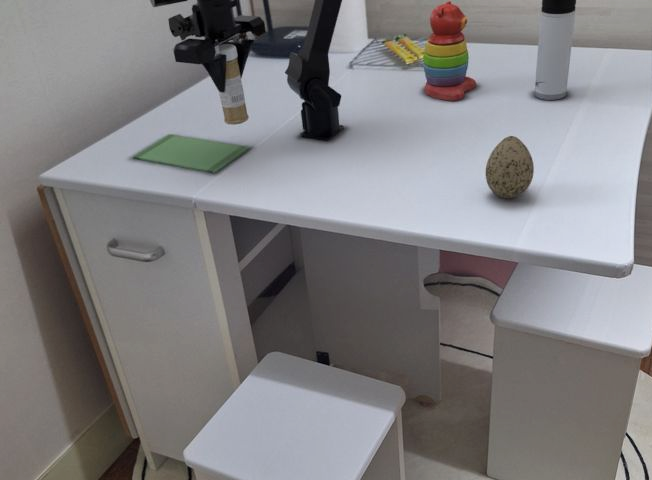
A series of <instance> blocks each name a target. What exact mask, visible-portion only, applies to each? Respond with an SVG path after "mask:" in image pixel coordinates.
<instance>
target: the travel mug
mask: <svg viewBox="0 0 652 480" xmlns="http://www.w3.org/2000/svg"><path fill="white" fill-rule="evenodd" d="M576 5H577V0H541V9H540V18H539V31H538V43H537V53H536V54H537V55H536V57H537V58H536V66H535V68H536V69H535V77H534V78H535V79H534V91H533V95H534V96H535V98H537V99H540V100H544V101H556V100H561V99H563V98H565V97H566V96H567V90H568V81H569V74H570V73H569V72H570V64H571V63H570V62H571V56H572V55H571V53H572V44H573V38H574V37H573V35H574V29H575V28H574V27H575V20H576V19H575V17H576Z"/></svg>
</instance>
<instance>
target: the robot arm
mask: <svg viewBox="0 0 652 480" xmlns="http://www.w3.org/2000/svg"><path fill="white" fill-rule="evenodd" d="M149 1H150V4H151V6H152V7H153V8H158V7H164V6H168V5H175V4H180V3H183V2H188V0H149ZM342 3H343V0H314V3H313V8H312V10H311V14H310V15H311V16H310V19H309V23H308V28H307V31H306V35H305V39H304V43H303V46H302V47H301V49H299V51H298V52H297V53H295V52H290V54H289V59H288V65H287V68H286V69H285V71H284V74H285V75H286V81H287V85H288V87H289V88H290V89H291V90H292V92H294V93H295V94H297V95H298V97H299V98H300V99H301V100H302V101H303V102H301V109H300V117H301V127H302V131H303V132H301V133H300V137H302V138H308V139H315V140H322V141H331V139H333V138H334V137H335V136H337V134H339V133H340V132H341V131H342V130H344V129H345V126H344V125H342V124H340V115H339V107H340V104H341V100H342V94H340V93H339V92H338V91H337V90H335V89H334V88H332V87H331V86H330V85H329V83H330V75H331V74H330V73H331V70H330V69H331V68H330V59H329V52H330V48H331V44H332V41H333V36H334V33H335V29H336V25H337V21H338V17H339V14H340V11H341V8H342V7H341V6H342ZM238 5H239V4H238V0H196V3H195V4H193V5H191V13H192V14H191V15H187V16H186V17H184V16H183V15H182V14H181V13H178V14H176V15H173V16H171V17H169V18H168V28H169V31H170V33H171V35H172V36H173V37H174V38H177V37H179V38H180V42H178V43H176V44H175V46H174V47H173V49H172V52H173V55H174V61H175V63H182V64H193V65H202V66H203V68H204V69H205V70H206V72H207V73H208V75H209V77H210V78H211V81H212V82H213V84H214V86H215V88H216V90H217V91H218V93H219V92H225V85H226V55H224V54H220V50H219V46H220V45H223V44H232V45H235V46H236V50H237V55H238V56H237V58H238V59H237V61H238V66H239V72H240V76H241V79H242V78H243V75H244V71H245V68H246V64H247V61H248V58H249V56H250V52H251V49H252V46H253V45H254V44H255V39H253V38H249V36H248V34H247V33H248V32H250V33H251V34H252V35H253V36H254V37H257V38H258V37H260V36H262V35H263V34H266V33H267V31H266V23H265V21H264V20H263V19H262V17H261V16H260V15H238V16H235V14H234V13H235V12H234V8H235V7H238ZM190 36H191V37H195V38H188V37H190ZM201 38H204V39H201Z"/></svg>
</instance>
